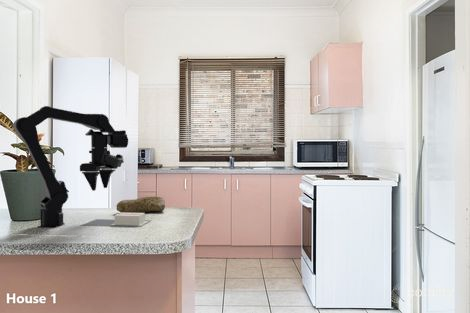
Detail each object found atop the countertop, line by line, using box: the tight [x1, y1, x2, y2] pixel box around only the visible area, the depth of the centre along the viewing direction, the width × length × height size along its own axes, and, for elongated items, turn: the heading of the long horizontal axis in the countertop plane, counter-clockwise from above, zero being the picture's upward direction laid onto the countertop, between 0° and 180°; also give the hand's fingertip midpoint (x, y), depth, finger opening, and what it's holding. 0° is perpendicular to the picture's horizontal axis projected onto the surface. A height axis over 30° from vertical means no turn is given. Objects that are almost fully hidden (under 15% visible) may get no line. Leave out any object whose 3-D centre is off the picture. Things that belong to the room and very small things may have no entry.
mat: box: [79, 218, 152, 228], centre depth 139 cm, size 22×12×1 cm, turn 83°
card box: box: [114, 212, 146, 225], centre depth 138 cm, size 6×9×3 cm, turn 83°
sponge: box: [116, 196, 166, 213], centre depth 164 cm, size 13×8×20 cm
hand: (99, 189), depth 145 cm, fingers open, 9 cm apart
